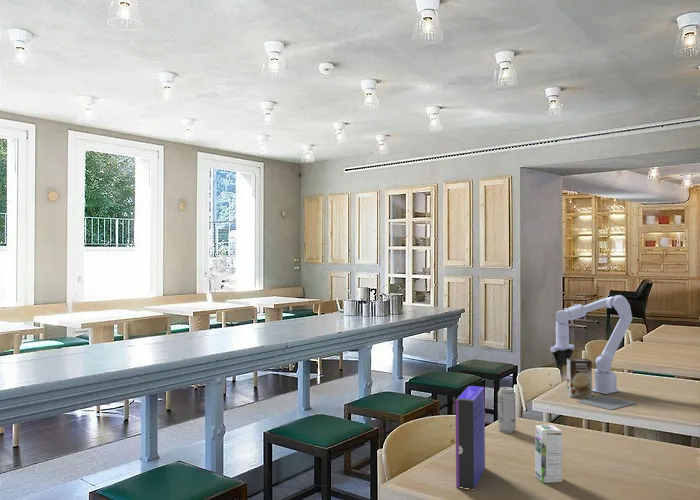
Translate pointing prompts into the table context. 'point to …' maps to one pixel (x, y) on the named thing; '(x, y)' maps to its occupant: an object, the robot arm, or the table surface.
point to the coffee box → (579, 378)
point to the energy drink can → (506, 410)
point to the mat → (607, 402)
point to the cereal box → (470, 436)
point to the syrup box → (548, 453)
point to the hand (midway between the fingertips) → (562, 366)
